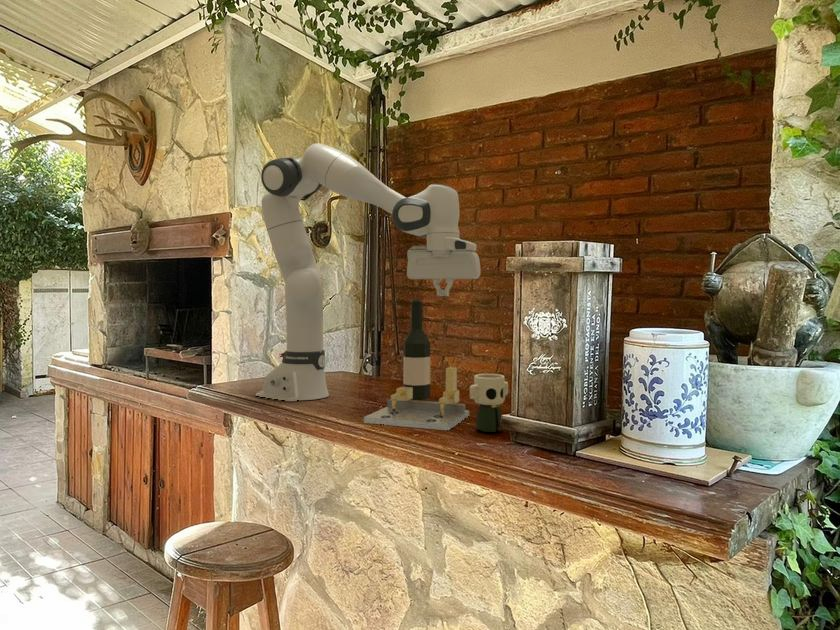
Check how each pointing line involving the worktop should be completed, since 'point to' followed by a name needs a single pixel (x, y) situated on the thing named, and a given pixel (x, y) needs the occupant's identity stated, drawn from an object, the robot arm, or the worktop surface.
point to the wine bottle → (417, 355)
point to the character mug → (489, 400)
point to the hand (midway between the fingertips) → (443, 296)
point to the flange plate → (417, 412)
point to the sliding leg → (450, 389)
